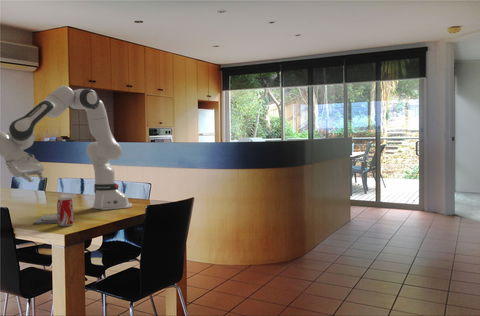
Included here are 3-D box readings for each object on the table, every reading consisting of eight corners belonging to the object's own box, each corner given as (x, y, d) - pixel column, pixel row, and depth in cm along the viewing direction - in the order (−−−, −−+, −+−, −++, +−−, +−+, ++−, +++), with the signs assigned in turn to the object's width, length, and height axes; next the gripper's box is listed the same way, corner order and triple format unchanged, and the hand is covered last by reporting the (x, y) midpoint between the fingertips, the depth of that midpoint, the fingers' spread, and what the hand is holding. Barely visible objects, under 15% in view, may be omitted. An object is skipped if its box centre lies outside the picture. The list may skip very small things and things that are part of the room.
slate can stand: (71, 216, 222) (71, 212, 221) (66, 222, 207) (66, 218, 207) (40, 218, 218) (40, 214, 218) (33, 224, 203) (33, 220, 203)
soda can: (54, 226, 199) (53, 199, 198) (65, 223, 206) (64, 197, 205) (65, 227, 197) (65, 200, 196) (76, 224, 203) (76, 197, 203)
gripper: (8, 156, 192) (28, 177, 192) (34, 154, 212) (53, 173, 212) (-1, 165, 193) (19, 187, 192) (26, 162, 213) (45, 182, 213)
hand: (37, 180), depth 202 cm, fingers open, 8 cm apart
